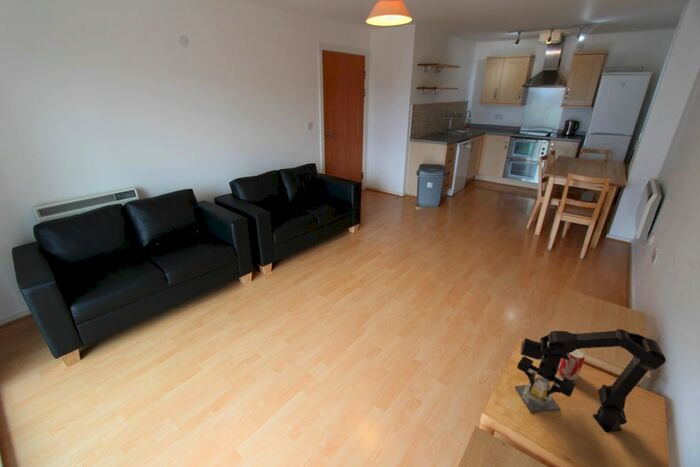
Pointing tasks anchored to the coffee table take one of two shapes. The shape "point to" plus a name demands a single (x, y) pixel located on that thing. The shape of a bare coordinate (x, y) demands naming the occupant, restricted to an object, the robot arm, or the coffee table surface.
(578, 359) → the soda can
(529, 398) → the collar
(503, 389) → the coffee table surface
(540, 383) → the supplement bottle
